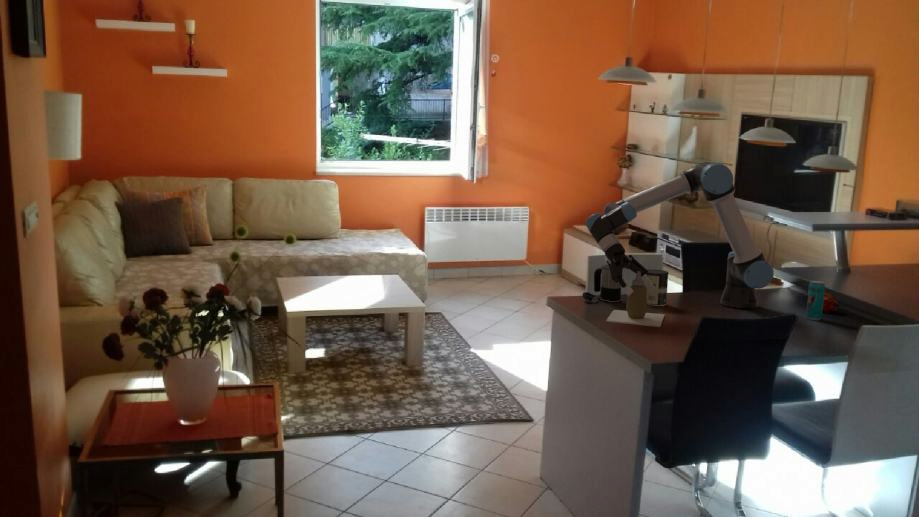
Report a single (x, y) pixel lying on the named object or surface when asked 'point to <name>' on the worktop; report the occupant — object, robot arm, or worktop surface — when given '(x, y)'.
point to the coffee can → (657, 287)
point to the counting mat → (648, 319)
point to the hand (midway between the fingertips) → (641, 291)
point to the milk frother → (604, 285)
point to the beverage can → (815, 300)
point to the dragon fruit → (829, 303)
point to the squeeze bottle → (637, 298)
